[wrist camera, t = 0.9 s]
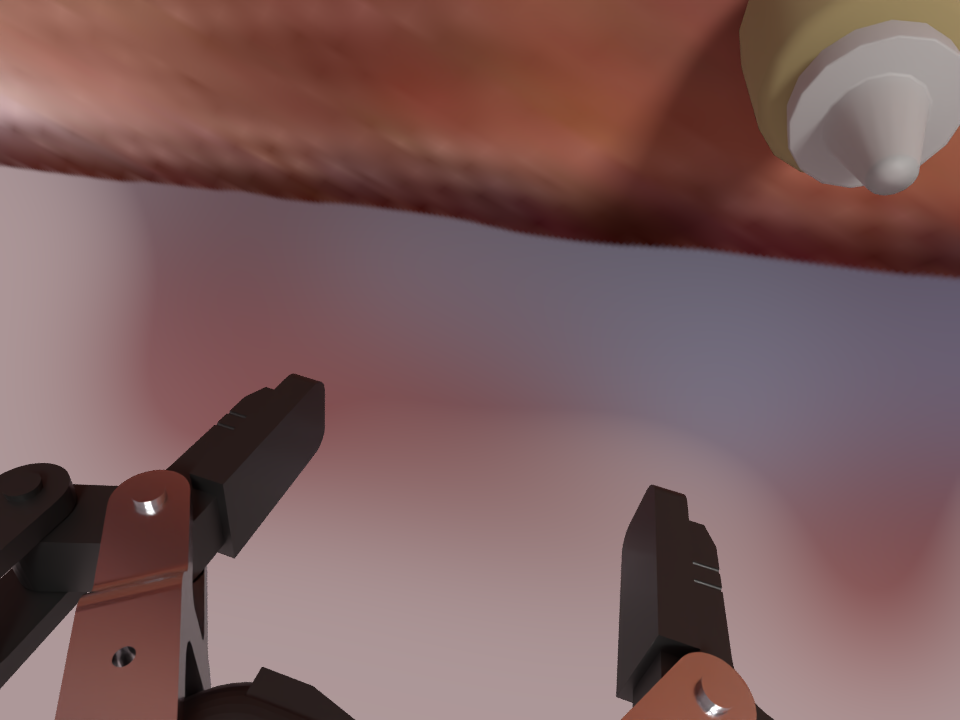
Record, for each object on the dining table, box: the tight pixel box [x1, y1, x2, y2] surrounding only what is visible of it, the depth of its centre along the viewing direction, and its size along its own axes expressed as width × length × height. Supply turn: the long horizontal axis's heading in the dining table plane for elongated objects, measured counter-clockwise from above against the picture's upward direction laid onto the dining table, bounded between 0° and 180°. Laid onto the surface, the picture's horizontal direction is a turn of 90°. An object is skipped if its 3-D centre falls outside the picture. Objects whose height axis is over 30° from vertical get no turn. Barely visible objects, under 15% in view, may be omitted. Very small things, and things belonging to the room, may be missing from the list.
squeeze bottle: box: [739, 0, 960, 195], centre depth 20 cm, size 8×8×18 cm
